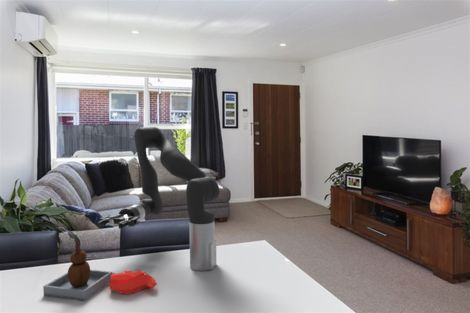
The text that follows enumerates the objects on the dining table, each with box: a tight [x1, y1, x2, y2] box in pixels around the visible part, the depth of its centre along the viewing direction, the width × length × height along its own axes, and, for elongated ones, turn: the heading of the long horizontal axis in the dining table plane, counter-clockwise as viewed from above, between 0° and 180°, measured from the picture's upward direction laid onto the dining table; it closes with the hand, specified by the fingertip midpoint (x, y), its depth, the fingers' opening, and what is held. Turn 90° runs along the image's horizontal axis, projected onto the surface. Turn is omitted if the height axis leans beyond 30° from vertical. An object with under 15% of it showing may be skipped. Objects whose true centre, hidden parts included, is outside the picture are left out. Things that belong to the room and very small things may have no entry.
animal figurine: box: [108, 270, 158, 295], centre depth 113 cm, size 12×15×5 cm
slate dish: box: [42, 269, 113, 302], centre depth 114 cm, size 15×15×3 cm
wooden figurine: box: [67, 241, 91, 288], centre depth 113 cm, size 7×6×15 cm
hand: (108, 225), depth 126 cm, fingers open, 8 cm apart
